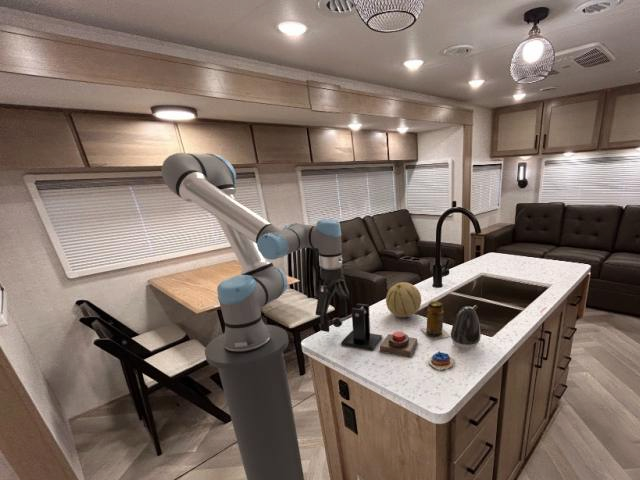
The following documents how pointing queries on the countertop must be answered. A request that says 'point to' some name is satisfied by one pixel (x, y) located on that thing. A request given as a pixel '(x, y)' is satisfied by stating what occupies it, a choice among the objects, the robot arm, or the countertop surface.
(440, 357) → the dessert
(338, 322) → the lever
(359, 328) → the bracket
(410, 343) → the button block
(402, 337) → the button
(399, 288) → the cantaloupe
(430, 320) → the condiment
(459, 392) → the countertop surface
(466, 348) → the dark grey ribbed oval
